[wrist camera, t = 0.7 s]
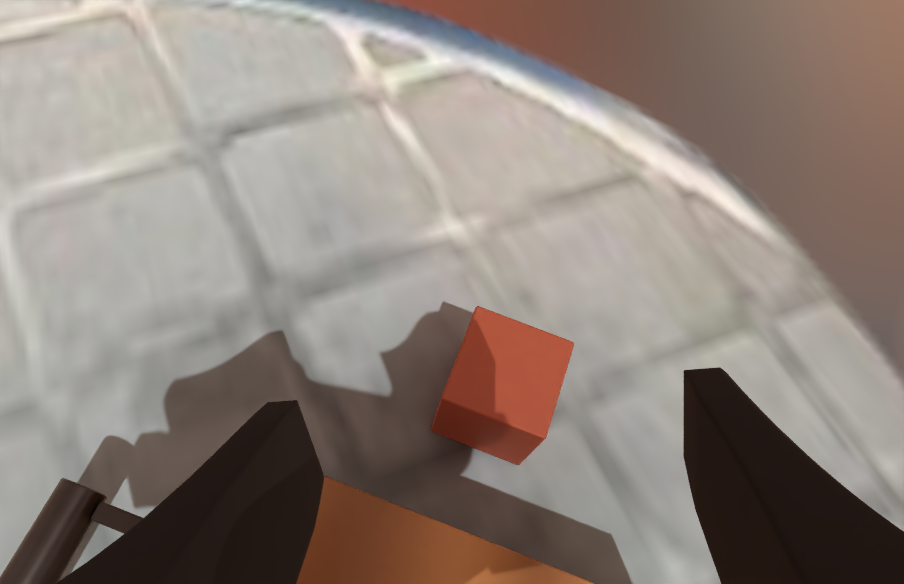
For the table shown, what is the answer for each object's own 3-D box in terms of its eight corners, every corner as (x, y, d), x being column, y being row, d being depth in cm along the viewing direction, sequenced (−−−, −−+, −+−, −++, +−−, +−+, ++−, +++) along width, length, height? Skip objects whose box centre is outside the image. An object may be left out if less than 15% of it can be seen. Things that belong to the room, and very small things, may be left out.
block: (518, 466, 28) (545, 439, 24) (429, 431, 29) (440, 398, 24) (545, 381, 30) (575, 341, 26) (461, 348, 30) (476, 304, 26)
